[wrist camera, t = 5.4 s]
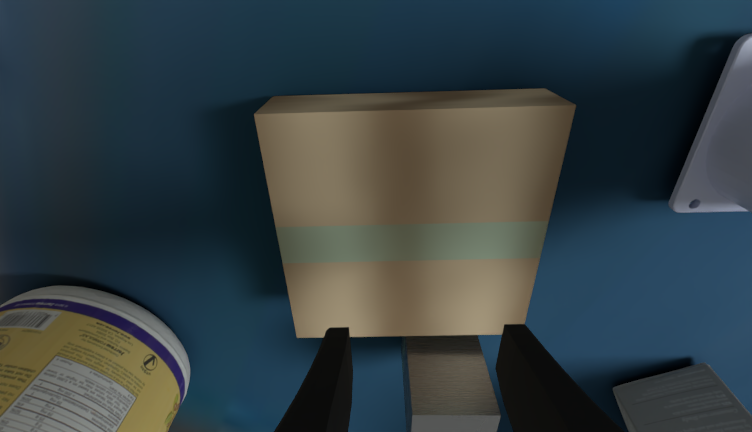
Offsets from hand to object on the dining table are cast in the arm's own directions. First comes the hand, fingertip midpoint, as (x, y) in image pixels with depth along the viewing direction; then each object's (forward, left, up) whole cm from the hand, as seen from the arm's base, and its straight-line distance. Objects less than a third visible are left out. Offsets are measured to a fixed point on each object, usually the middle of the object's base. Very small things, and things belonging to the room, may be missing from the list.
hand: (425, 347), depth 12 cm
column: (-2, +9, -9) cm, 13 cm away
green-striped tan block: (0, 0, -9) cm, 9 cm away
